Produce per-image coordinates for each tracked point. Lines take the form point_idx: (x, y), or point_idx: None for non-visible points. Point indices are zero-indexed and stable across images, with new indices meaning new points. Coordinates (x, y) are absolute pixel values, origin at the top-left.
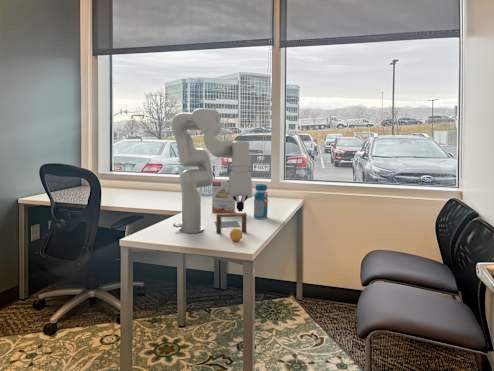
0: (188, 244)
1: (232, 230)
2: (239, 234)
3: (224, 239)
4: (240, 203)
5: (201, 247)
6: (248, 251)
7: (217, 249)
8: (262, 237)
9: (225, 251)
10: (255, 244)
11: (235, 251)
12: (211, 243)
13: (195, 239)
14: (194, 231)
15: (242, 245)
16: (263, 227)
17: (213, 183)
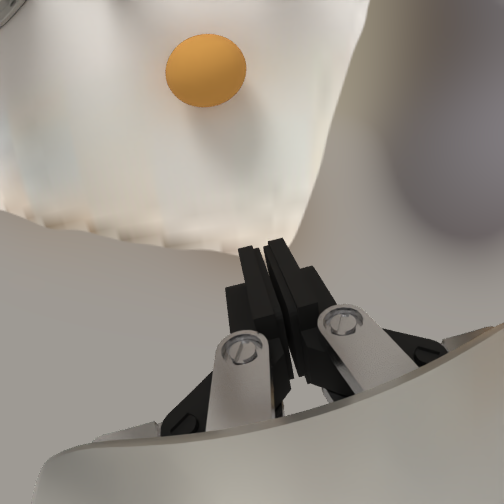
0: (12, 182)
1: (180, 78)
2: (228, 96)
3: (140, 56)
4: (292, 376)
5: (64, 211)
6: (274, 234)
7: (134, 226)
8: (343, 14)
9: (174, 247)
10: (309, 125)
11: (217, 241)
12: (87, 140)
13: (16, 101)
14: (3, 20)
15: (244, 146)
16: None
17: None
